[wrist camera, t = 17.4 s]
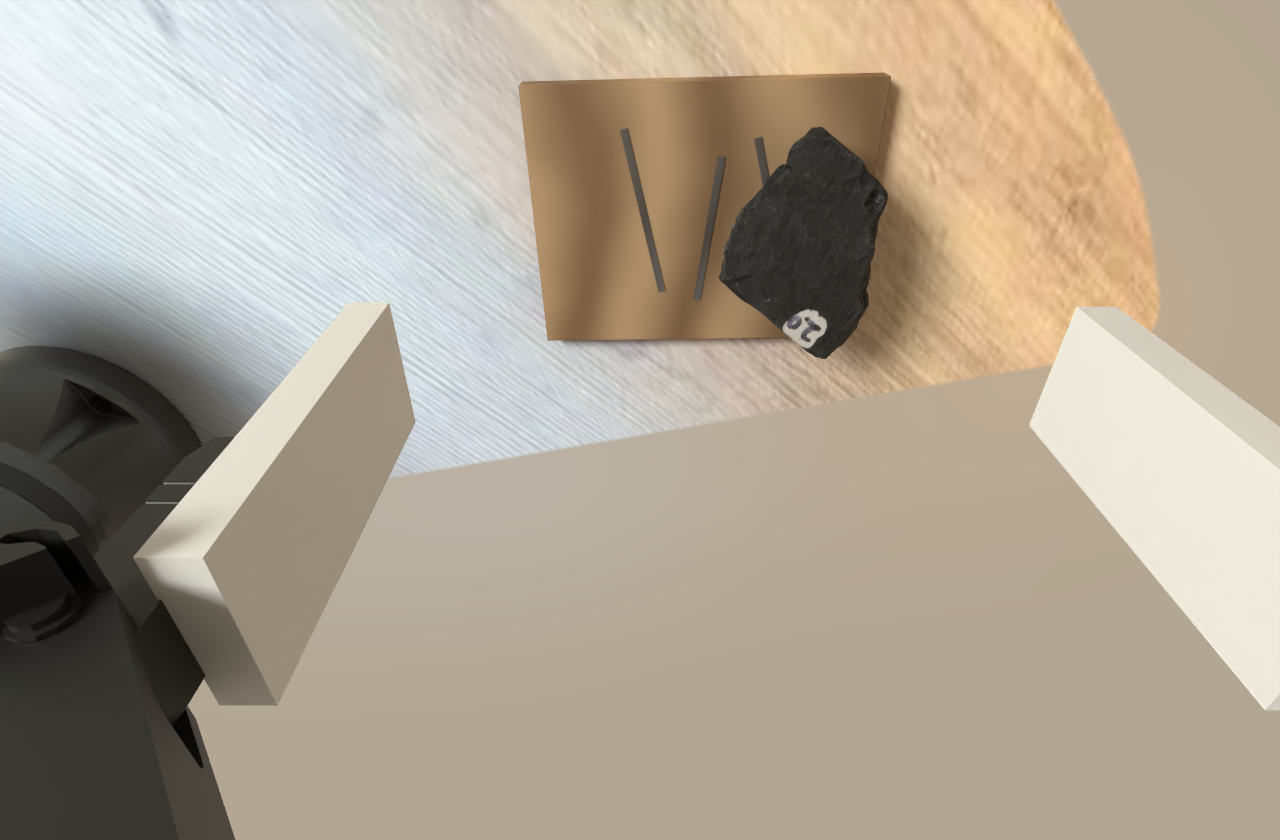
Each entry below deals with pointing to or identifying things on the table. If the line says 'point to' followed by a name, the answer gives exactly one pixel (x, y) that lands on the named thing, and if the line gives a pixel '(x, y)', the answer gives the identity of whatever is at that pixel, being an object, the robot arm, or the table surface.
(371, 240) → the table surface
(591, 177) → the board
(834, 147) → the rock
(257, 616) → the robot arm
